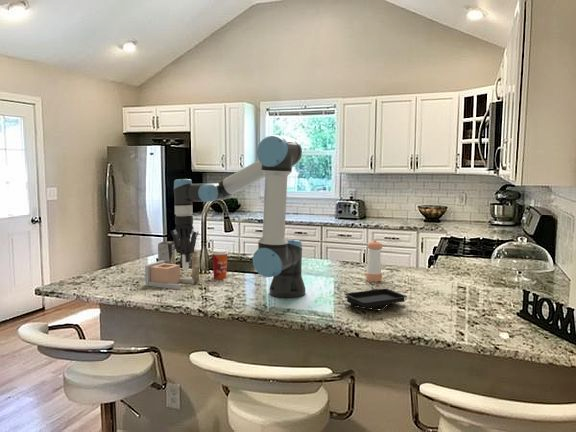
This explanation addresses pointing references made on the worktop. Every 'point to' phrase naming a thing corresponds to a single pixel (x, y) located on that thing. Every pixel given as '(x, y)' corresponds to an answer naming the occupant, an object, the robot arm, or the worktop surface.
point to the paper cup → (219, 263)
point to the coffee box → (166, 252)
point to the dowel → (195, 266)
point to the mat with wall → (158, 284)
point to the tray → (374, 298)
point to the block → (166, 273)
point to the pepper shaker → (374, 262)
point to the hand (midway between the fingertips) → (185, 269)
